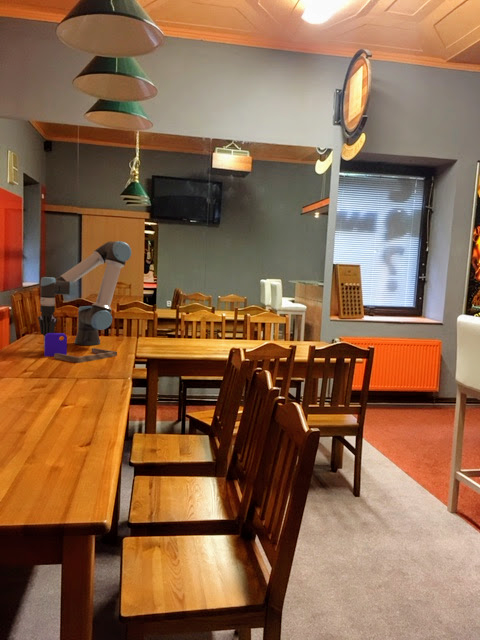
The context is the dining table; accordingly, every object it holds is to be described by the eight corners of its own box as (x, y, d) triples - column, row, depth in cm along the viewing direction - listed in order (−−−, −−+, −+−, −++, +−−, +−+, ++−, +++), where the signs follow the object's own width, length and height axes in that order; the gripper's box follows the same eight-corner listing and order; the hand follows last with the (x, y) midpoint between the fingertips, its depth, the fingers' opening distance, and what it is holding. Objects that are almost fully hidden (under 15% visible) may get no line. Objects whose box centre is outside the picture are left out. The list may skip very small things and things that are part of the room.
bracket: (66, 356, 274) (67, 334, 273) (44, 356, 270) (45, 334, 269) (63, 350, 290) (64, 330, 289) (43, 350, 286) (43, 329, 285)
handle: (94, 352, 289) (94, 348, 289) (116, 356, 281) (117, 351, 281) (54, 358, 265) (54, 353, 264) (78, 362, 257) (78, 357, 256)
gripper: (34, 304, 284) (33, 346, 286) (50, 306, 277) (49, 349, 279) (45, 304, 290) (44, 345, 292) (61, 305, 284) (60, 348, 286)
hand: (46, 347), depth 286 cm, fingers closed
